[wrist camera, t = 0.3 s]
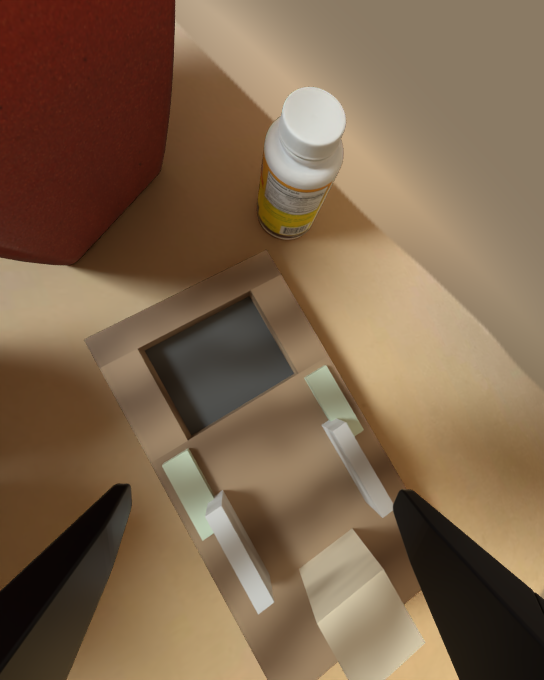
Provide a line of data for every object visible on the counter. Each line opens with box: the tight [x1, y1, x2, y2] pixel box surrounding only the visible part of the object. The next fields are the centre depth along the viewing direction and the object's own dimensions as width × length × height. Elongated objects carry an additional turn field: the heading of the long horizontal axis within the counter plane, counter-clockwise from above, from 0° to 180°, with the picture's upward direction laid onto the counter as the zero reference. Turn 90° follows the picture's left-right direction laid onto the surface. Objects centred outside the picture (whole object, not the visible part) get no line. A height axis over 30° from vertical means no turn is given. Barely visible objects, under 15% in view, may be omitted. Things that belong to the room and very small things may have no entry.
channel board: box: [84, 250, 421, 680], centre depth 21 cm, size 30×16×4 cm, turn 30°
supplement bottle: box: [257, 87, 346, 240], centre depth 21 cm, size 6×6×10 cm
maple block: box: [299, 529, 425, 680], centre depth 18 cm, size 5×5×4 cm
